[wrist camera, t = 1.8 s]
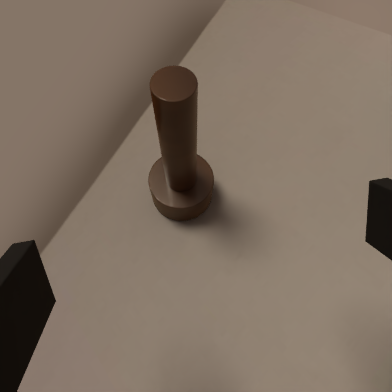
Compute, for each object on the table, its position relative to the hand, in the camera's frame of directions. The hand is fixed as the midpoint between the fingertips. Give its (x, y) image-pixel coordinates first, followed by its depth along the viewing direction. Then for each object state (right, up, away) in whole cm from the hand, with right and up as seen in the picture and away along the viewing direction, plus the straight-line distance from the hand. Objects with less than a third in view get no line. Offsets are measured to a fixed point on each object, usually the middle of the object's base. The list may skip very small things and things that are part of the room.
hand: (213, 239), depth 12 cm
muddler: (-2, +2, +17) cm, 18 cm away
